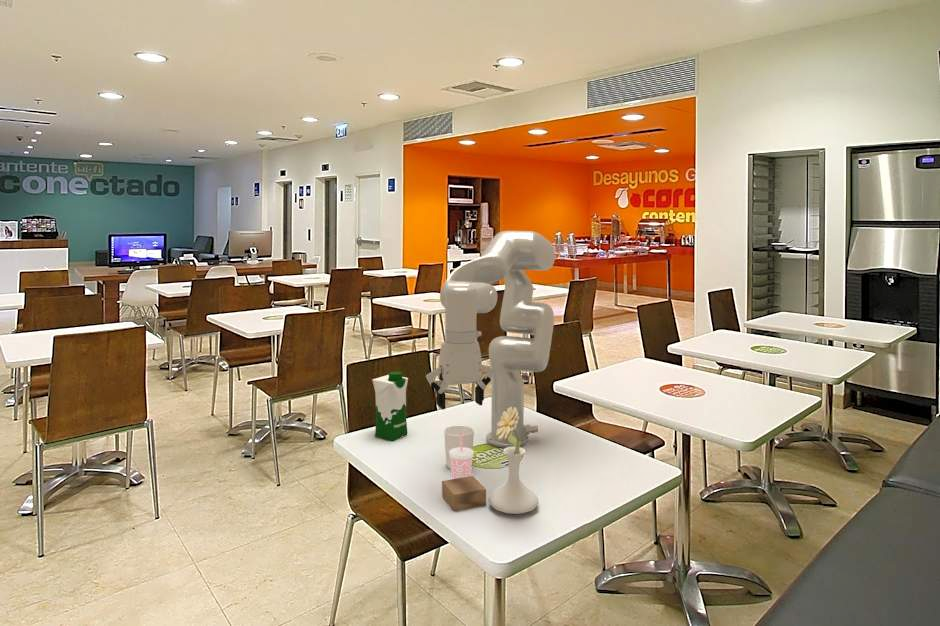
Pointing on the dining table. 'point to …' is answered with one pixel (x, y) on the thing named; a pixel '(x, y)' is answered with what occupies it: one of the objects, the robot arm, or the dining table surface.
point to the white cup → (457, 439)
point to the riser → (463, 493)
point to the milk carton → (391, 406)
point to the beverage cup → (461, 461)
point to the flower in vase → (512, 472)
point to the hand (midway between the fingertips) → (460, 405)
